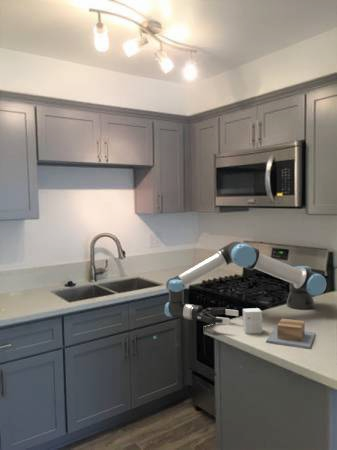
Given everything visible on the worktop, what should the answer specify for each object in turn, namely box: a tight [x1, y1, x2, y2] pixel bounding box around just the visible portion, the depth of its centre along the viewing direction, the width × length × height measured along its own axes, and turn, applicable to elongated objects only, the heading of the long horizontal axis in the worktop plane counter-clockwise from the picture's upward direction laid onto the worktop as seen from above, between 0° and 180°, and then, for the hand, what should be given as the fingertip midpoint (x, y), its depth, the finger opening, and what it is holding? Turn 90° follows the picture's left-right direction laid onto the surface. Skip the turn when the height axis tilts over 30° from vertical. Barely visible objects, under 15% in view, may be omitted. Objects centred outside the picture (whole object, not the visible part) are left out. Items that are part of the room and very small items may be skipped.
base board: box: [265, 327, 316, 350], centre depth 169 cm, size 18×18×1 cm
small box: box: [242, 307, 263, 335], centre depth 179 cm, size 8×6×10 cm
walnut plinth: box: [276, 318, 306, 342], centre depth 169 cm, size 10×10×6 cm
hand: (234, 317), depth 183 cm, fingers open, 13 cm apart
